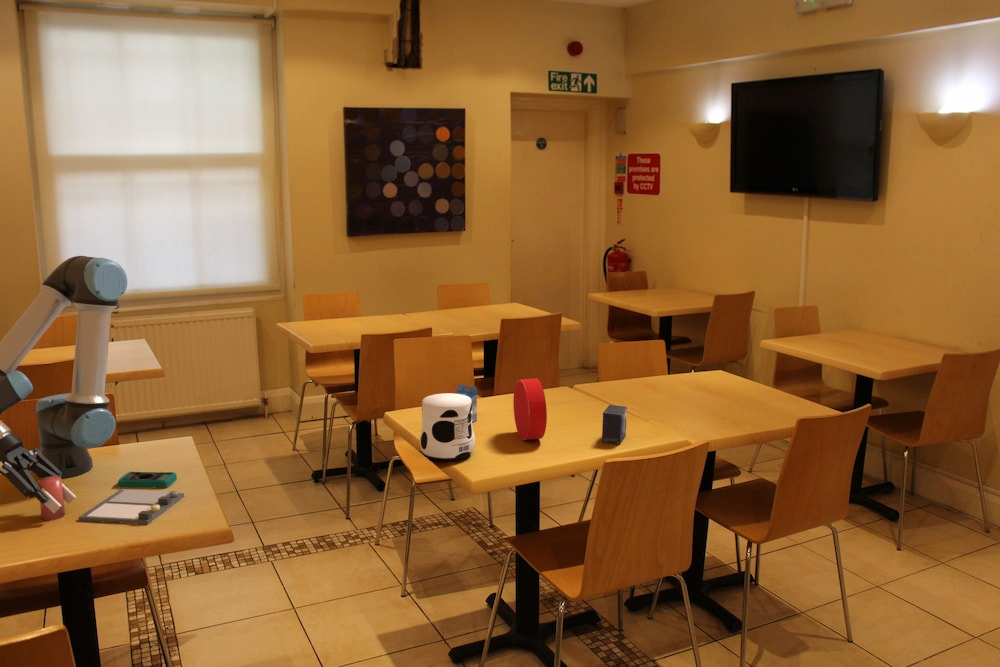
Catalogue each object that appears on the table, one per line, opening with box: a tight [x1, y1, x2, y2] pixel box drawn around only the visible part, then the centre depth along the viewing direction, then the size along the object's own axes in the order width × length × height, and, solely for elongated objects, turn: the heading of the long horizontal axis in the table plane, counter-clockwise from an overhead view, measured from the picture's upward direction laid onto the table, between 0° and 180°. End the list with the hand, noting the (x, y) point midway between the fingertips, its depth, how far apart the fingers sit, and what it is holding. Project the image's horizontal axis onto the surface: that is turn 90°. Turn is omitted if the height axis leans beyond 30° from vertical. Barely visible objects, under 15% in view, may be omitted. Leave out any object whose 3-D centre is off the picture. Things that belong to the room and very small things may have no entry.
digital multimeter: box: [117, 471, 178, 489], centre depth 250 cm, size 7×15×3 cm, turn 87°
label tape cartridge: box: [454, 384, 478, 424], centre depth 309 cm, size 9×4×12 cm, turn 55°
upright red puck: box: [512, 378, 548, 441], centre depth 288 cm, size 20×6×20 cm, turn 14°
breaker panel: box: [78, 489, 185, 525], centre depth 232 cm, size 19×19×3 cm
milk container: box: [419, 392, 476, 461], centre depth 272 cm, size 17×17×18 cm
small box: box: [601, 404, 628, 446], centre depth 287 cm, size 11×6×10 cm, turn 161°
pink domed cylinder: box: [37, 476, 66, 521], centre depth 227 cm, size 6×6×10 cm
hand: (65, 504), depth 227 cm, fingers closed on pink domed cylinder, 5 cm apart
